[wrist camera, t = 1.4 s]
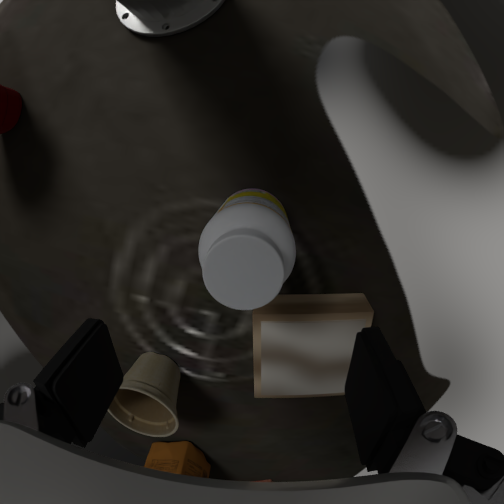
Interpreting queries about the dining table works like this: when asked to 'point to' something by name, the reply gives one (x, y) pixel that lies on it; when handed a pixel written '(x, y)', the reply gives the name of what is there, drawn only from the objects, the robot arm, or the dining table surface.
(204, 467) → the coffee package
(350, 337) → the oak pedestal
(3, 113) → the plastic cup
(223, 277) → the supplement bottle
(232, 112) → the dining table surface
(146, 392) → the flower pot
